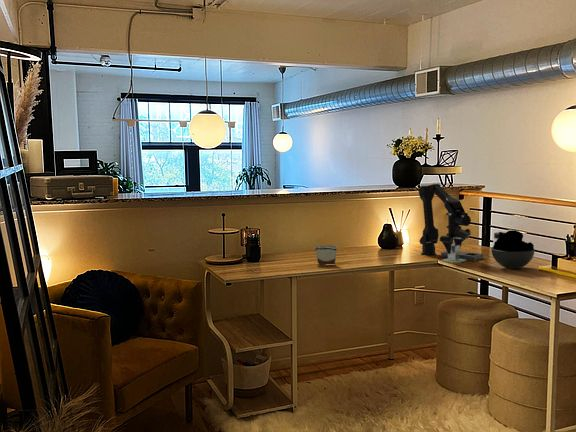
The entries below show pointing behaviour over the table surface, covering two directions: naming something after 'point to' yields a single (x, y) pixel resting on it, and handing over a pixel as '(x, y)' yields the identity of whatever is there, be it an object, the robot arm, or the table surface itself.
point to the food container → (326, 254)
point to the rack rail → (466, 255)
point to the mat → (454, 261)
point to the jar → (496, 237)
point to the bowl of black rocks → (512, 250)
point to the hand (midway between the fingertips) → (453, 252)
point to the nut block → (454, 253)
